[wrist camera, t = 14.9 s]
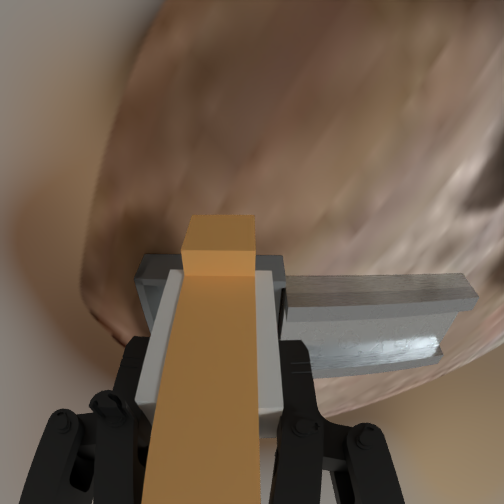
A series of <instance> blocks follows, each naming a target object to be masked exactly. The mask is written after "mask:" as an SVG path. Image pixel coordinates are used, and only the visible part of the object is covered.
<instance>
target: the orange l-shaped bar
mask: <svg viewBox="0 0 504 504" xmlns="http://www.w3.org/2000/svg"><path fill="white" fill-rule="evenodd" d="M181 255H182V262H183V269H184V279H183V283H182V287H181V292H180V296H179V300H178V304H177V308H176V313H175V317H174V321H173V326H172V330H171V335H170V339H169V344H168V348H167V353H166V358H165V363H164V367H163V372H162V377H161V383H160V388H159V393H158V398H157V404H156V409H155V415H154V420H153V426H152V432H151V438H150V445H149V451H148V458H147V464H146V471H145V478H144V486H143V494H142V502H141V504H261V503H260V502H261V498H260V455H259V413H258V373H257V334H256V296H255V258H256V245H255V216H254V215H192V217H191V220H190V223H189V226H188V229H187V232H186V236H185V239H184V242H183V245H182V248H181Z"/></svg>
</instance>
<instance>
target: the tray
mask: <svg viewBox="0 0 504 504" xmlns="http://www.w3.org/2000/svg"><path fill="white" fill-rule="evenodd" d="M170 269H171V270H184V269H183V262H182V255H181V254H145V255H144V257H143V259H142V261H141V263H140V266H139V268H138V270H137V273H136V275H135V277H134V281H135V284H136V288H137V291H138V295H139V298H140V302H141V305H142V308H143V311H144V315H145V318H146V321H147V324H148V327H149V330H150V333H152V329H153V326H154V322H155V319H156V315H157V312H158V308H159V305H160V301H161V298H162V295H163V291H164V288H165V285H166V282H167V278H168V275H169V272H170ZM255 270H256V271H272V278H273V289H274V300H275V311H276V322H277V326H278V317H279V308H280V298H281V289H282V288H285V287H286V277H285V270H284V263H283V256H276V255H256V258H255Z"/></svg>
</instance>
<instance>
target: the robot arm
mask: <svg viewBox="0 0 504 504" xmlns="http://www.w3.org/2000/svg"><path fill="white" fill-rule="evenodd" d="M183 279H184V270H171V269H170V272H169V275H168V278H167V282H166V285H165V288H164V291H163V295H162V298H161V301H160V305H159V308H158V312H157V315H156V319H155V322H154V326H153V329H152V333H151V337H139V336H134V337H133V338H132V339H131V340H130V341H129V343H128V344H127V345H126V347H125V351H124V354H123V359H122V360H121V364H120V368H119V370H118V373H117V377H116V380H115V384H114V387H113V391H111V390H105V391H101V392H99V393H97V394H95V396H94V397H93V398H92V399H91V401H90V404H89V407H90V408H91V410H92V411H93V413H86V414H77V415H76V414H75V413H74V412H72V411H71V410H69V409H59V410H57V411H55V412H54V413H52V415H51V416H50V418H49V420H48V423H47V425H46V427H45V430H44V432H43V435H42V438H41V440H40V443H39V445H38V448H37V450H36V453H35V456H34V459H33V462H32V464H31V467H30V470H29V473H28V476H27V479H26V482H25V485H24V488H23V491H22V495H21V498H20V501H19V504H92V500H93V501H94V502H93V504H141V502H142V494H143V486H144V478H145V471H146V464H147V458H148V451H149V445H150V438H151V437H150V436H151V430H152V426H153V420H154V415H155V409H156V404H157V398H158V393H159V388H160V383H161V377H162V372H163V367H164V363H165V358H166V353H167V348H168V344H169V339H170V335H171V330H172V326H173V321H174V317H175V313H176V308H177V304H178V300H179V296H180V292H181V287H182V283H183ZM255 296H256V334H257V373H258V413H259V438H276V436H277V449H276V452H275V463H274V470H273V478H272V485H271V492H270V499H269V504H320V494H321V480H322V469H323V470H328V471H330V475H331V480H332V484H333V489H334V493H335V498H336V502H337V504H405V502H404V498H403V495H402V491H401V488H400V485H399V481H398V478H397V475H396V471H395V468H394V465H393V462H392V459H391V455H390V452H389V449H388V446H387V443H386V440H385V437H384V434H383V433H382V431H381V429H380V428H378V427H377V426H376V425H374V424H371V423H360V424H358V425H355V426H354V427H349V426H343V425H338V424H334V423H331V422H329V421H328V420H326V419H325V418H324V417H323V416H322V415H321V414H320V412H319V411H318V407H317V402H316V395H315V388H314V382H313V375H312V369H311V364H310V356H309V350H308V349H307V347H306V346H305V344H304V343H303V341H302V340H278V333H277V322H276V311H275V300H274V289H273V278H272V271H256V270H255Z"/></svg>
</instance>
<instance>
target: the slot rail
mask: <svg viewBox="0 0 504 504" xmlns="http://www.w3.org/2000/svg"><path fill="white" fill-rule="evenodd" d="M285 277H286V287H285V288H283V293H282V302H281V311H280V320H279V329H278V340H302V341H303V343H304V344H305V346H306V347H307V349H308V350H309V356H310V364H311V369H312V375H313V379H315V378H330V377H343V376H354V375H364V374H373V373H381V372H389V371H396V370H403V369H409V368H415V367H421V366H427V365H433V364H438V362H439V361H440V359H441V358H442V357H443V352H442V350H441V348H440V346H439V344H440V342H441V340H442V339H443V337H444V336H445V334H446V332H447V331H448V329H449V327H450V326H451V324H452V322H453V321H454V319H455V317H456V315H457V314H458V312H459V311H468V310H472V309H473V308H474V306H475V304H476V302H477V300H478V299H479V296H478V295H477V293H476V292H475V290H474V289H473V287H472V286H471V284H470V283H469V282H468V280H467V279H466V277H465V276H464V274H463V273H460V274H426V275H377V276H285Z"/></svg>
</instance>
